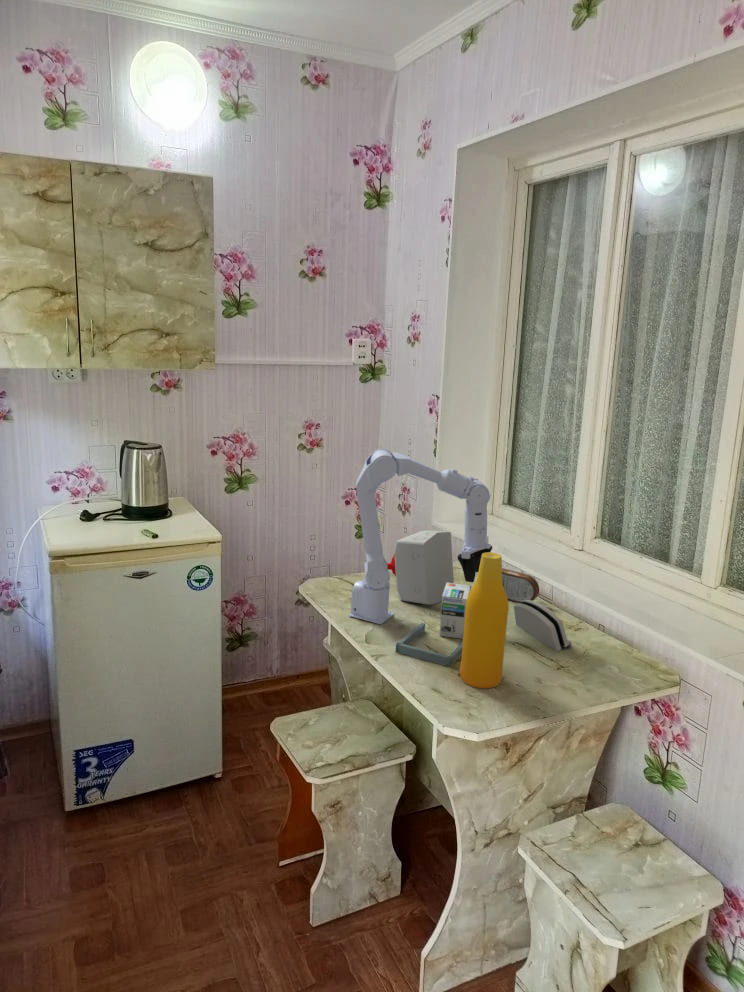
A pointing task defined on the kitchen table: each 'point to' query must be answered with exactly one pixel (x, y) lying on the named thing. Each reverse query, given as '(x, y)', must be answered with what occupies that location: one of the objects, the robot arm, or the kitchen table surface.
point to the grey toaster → (541, 624)
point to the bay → (425, 654)
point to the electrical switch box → (423, 566)
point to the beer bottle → (485, 626)
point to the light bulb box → (453, 610)
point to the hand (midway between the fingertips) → (474, 576)
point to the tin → (519, 586)
